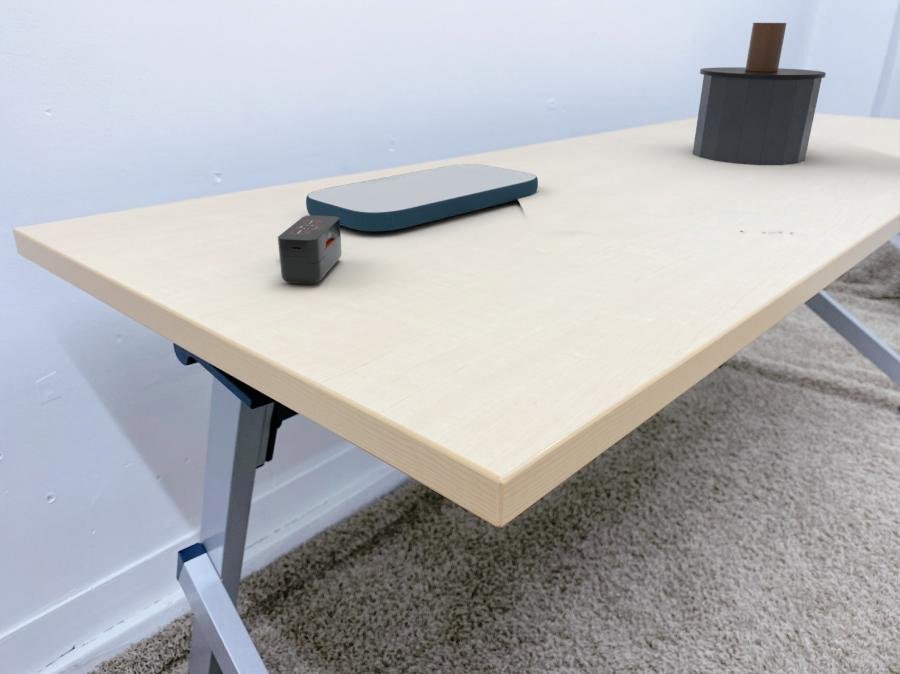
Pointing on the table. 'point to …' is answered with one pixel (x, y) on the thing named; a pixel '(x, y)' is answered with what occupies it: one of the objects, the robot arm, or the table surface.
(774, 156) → the pot
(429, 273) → the table surface
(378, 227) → the grey flat rounded slab
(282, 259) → the dark grey box
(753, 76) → the lid
